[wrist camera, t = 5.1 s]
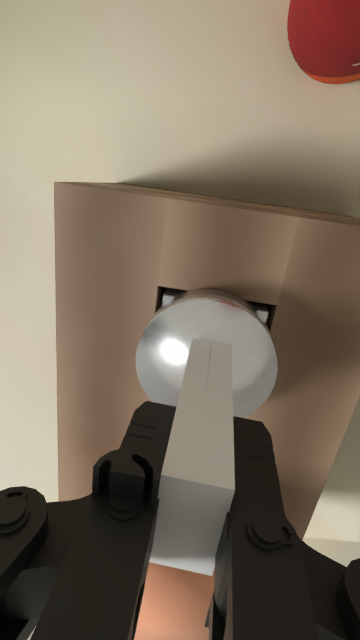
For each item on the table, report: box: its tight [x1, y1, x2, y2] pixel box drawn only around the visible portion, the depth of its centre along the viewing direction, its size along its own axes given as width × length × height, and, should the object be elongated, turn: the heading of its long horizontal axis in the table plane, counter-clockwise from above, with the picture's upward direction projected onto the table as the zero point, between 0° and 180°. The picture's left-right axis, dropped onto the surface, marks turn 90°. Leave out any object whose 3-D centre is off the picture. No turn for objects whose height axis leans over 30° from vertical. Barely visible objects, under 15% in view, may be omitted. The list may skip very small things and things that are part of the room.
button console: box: [54, 182, 360, 540], centre depth 21 cm, size 14×22×8 cm, turn 173°
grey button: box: [136, 288, 278, 418], centre depth 17 cm, size 6×6×8 cm
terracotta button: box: [134, 562, 215, 640], centre depth 17 cm, size 6×6×8 cm
